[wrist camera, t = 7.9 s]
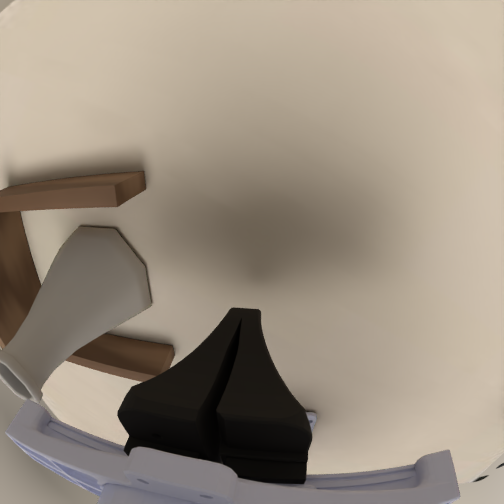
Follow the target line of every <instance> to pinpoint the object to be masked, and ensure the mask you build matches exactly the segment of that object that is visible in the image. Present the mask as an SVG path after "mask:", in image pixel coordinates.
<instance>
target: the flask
mask: <svg viewBox="0 0 504 504" xmlns="http://www.w3.org/2000/svg"><path fill="white" fill-rule="evenodd" d="M151 306H152V305H151V300H150V294H149V288H148V282H147V276H146V269H145V266H144V265H143V263H142V262H141V261H140V260H139V259H138V257H137V256H136V255H135V254H134V252H133V251H132V250H131V249H130V247H129V246H128V245H127V244H126V242H125V241H124V240H123V238H122V237H121V236H120V235H119V233H118V232H117V231H116V229H110V228H95V227H78V228H77V229H76V230H75V231H74V233H73V234H72V235H71V236H70V237H69V238H68V240H67V241H66V242H65V243H64V244H63V245H62V247H61V248H60V249H59V251H58V253H57V255H56V256H55V258H54V260H53V263H52V265H51V267H50V269H49V271H48V273H47V275H46V277H45V280H44V282H43V284H42V286H41V288H40V290H39V292H38V294H37V296H36V298H35V301H34V303H33V305H32V307H31V309H30V312H29V314H28V316H27V317H26V319H25V320H24V322H23V323H22V325H21V327H20V328H19V330H18V331H17V333H16V335H15V336H14V338H13V339H12V340H11V341H10V342H9V343H8V345H7V346H6V347H5V348H3V349H2V350H1V349H0V379H1V380H2V381H3V382H4V383H5V384H6V385H7V386H8V388H9V389H10V390H11V391H12V392H13V393H14V394H15V395H16V396H18V397H20V398H21V399H23V400H25V401H26V399H30V400H32V401H33V402H35V403H39V402H40V401H41V399H42V396H43V393H42V392H41V389H42V387H43V385H44V383H45V382H46V380H47V379H48V378H49V376H50V375H51V374H52V372H53V371H54V370H55V369H56V368H57V367H58V366H59V365H60V364H62V363H63V362H64V361H65V360H66V359H67V358H68V357H69V356H71V355H72V354H73V353H74V352H75V351H76V350H78V349H79V348H81V347H83V346H84V345H86V344H87V343H89V342H91V341H92V340H94V339H96V338H97V337H99V336H100V335H102V334H104V333H106V332H108V331H109V330H111V329H113V328H115V327H117V326H119V325H120V324H122V323H124V322H125V321H127V320H129V319H130V318H132V317H134V316H136V315H137V314H139V313H141V312H142V311H144V310H146V309H147V308H149V307H151Z"/></svg>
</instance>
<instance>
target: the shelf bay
mask: <svg viewBox="0 0 504 504" xmlns="http://www.w3.org/2000/svg"><path fill="white" fill-rule="evenodd" d="M144 190H146V186H145V176H144V171H138V172H124V173H111V174H100V175H90V176H81V177H72V178H64V179H56V180H49V181H42V182H35V183H29V184H22V185H17V186H11V187H7V188H5V189H2V190H0V346H1V348H2V349H3V348H5V347H6V346H7V345H8V343H9V342H10V341H11V340H12V339H13V338H14V336H15V335H16V333H17V331H18V330H19V328H20V327H21V325H22V323H23V322H24V320H25V319H26V317H27V316H28V314H29V312H30V309H31V307H32V305H33V303H34V301H35V298H36V296H37V294H38V292H39V290H40V288H41V284H40V281H39V278H38V275H37V272H36V269H35V266H34V263H33V260H32V256H31V253H30V250H29V246H28V243H27V239H26V235H25V231H24V227H23V223H22V219H21V215H20V211H29V210H46V209H67V208H94V207H118V206H120V205H121V204H123V203H124V202H126V201H128V200H129V199H131V198H132V197H134V196H136V195H137V194H139V193H141V192H142V191H144ZM174 356H175V354H174V350H173V346H171V345H165V344H158V343H152V342H146V341H141V340H135V339H130V338H124V337H119V336H114V335H110V334H105V333H104V334H102V335H100V336H99V337H97V338H96V339H94V340H92V341H91V342H89V343H87V344H86V345H84V346H83V347H81V348H79V349H78V350H76V351H75V352H74V353H73V354H72V355H71V356H69V357H68V358H67V359H66V361H69V362H72V363H75V364H78V365H81V366H84V367H88V368H91V369H94V370H98V371H101V372H105V373H109V374H112V375H116V376H120V377H124V378H128V379H132V380H136V381H141V382H145V381H147V380H149V379H151V378H154V377H156V376H157V375H159V374H161V373H163V372H165V371H166V370H168V369H169V368H170V365H171V363H172V361H173V359H174Z"/></svg>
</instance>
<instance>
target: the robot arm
mask: <svg viewBox="0 0 504 504" xmlns="http://www.w3.org/2000/svg"><path fill="white" fill-rule="evenodd" d="M117 416H118V418H119V420H120V422H121V424H122V425H123V427H124V428H125V430H126V431H127V433H128V434H129V438H128V440H127V443H126V445H125V446H122V445H119V444H116V443H113V442H110V441H108V440H105V439H102V438H99V437H97V436H94V435H92V434H89V433H87V432H84V431H82V430H79V429H77V428H75V427H72V426H70V425H68V424H66V423H63V422H61V421H59V420H57V419H55V418H52V417H51V415H50V413H49V412H48V411H47V410H46V409H45V408H44V407H43V406H41V405H39V404H37V403H35V402H33V401H32V400H30V399H26V401H25V402H24V404H23V405H22V407H21V408H20V410H19V411H18V413H17V414H16V416H15V417H14V419H13V420H12V422H11V424H10V425H9V427H8V428H7V430H6V431H5V432H6V434H7V435H8V436H9V437H10V438H11V439H12V440H13V441H14V442H15V443H16V444H17V445H18V446H19V447H20V448H21V449H22V450H23V451H24V452H25V453H26V454H27V455H29V456H30V457H31V458H32V459H34V460H35V461H37V462H38V463H40V464H42V465H43V466H45V467H47V468H48V469H50V470H51V471H53V472H55V473H57V474H58V475H60V476H62V477H64V478H65V479H67V480H69V481H71V482H72V483H74V484H76V485H78V486H80V487H82V488H84V489H86V490H88V491H89V492H91V493H94V494H95V495H98V496H100V498H99V500H98V503H97V504H451V503H453V502H454V501H456V500H457V499H459V498H460V492H459V487H458V482H457V478H456V473H455V469H454V465H453V461H452V457H451V453H450V450H444V451H440V452H436V453H431V454H428V455H425V456H423V457H421V458H420V459H418V460H417V462H416V463H415V464H412V465H407V466H401V467H395V468H389V469H382V470H374V471H366V472H355V473H342V474H319V475H306V471H307V461H308V450H309V447H310V444H311V442H312V432H313V429H314V426H315V423H316V419H317V414H316V413H313V412H305V409H304V408H303V407H302V406H301V405H300V403H299V402H298V401H297V400H296V399H295V397H294V396H293V395H292V393H291V392H290V391H289V389H288V388H287V386H286V385H285V383H284V381H283V380H282V378H281V377H280V375H279V373H278V371H277V369H276V367H275V365H274V363H273V361H272V359H271V356H270V354H269V351H268V349H267V346H266V343H265V339H264V336H263V332H262V327H261V311H260V310H259V309H247V308H231V309H230V310H229V311H228V313H227V314H226V316H225V317H224V318H223V320H222V321H221V322H220V323H219V325H218V326H217V327H216V328H215V329H214V331H213V332H212V333H211V334H210V335H209V336H208V337H207V338H206V339H205V340H204V341H203V342H202V343H201V344H200V345H199V346H198V347H197V348H196V349H195V350H194V351H193V352H192V353H190V354H189V355H188V356H187V357H185V358H184V359H183V360H181V361H180V362H179V363H177V364H176V365H174V366H173V367H171V368H170V369H168V370H166V371H165V372H163V373H161V374H159V375H157V376H156V377H154V378H151V379H149V380H147V381H145V382H142V383H140V384H137V385H135V386H132V387H131V389H130V390H129V392H128V393H127V395H126V396H125V398H124V400H123V402H122V404H121V406H120V408H119V410H118V415H117Z"/></svg>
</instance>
